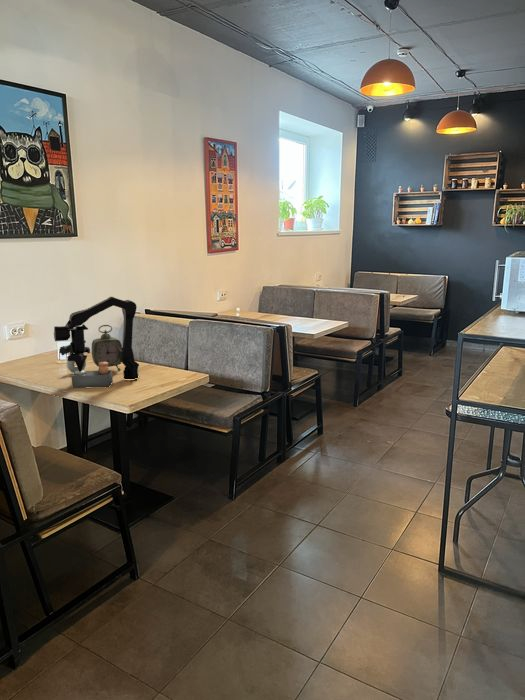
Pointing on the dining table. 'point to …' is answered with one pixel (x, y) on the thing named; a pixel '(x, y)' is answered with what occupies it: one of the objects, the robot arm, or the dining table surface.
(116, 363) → the tabletop clock
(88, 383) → the press block
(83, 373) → the plunger
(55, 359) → the dining table surface
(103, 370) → the terracotta plunger
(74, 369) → the donut
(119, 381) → the dining table surface
